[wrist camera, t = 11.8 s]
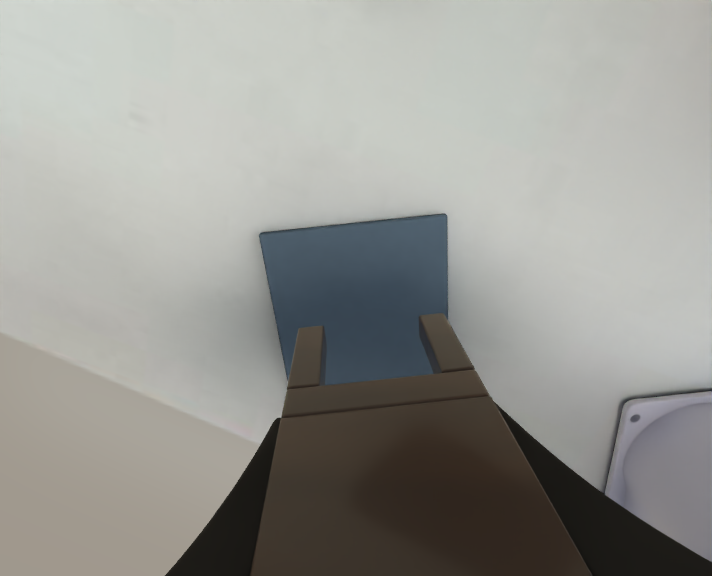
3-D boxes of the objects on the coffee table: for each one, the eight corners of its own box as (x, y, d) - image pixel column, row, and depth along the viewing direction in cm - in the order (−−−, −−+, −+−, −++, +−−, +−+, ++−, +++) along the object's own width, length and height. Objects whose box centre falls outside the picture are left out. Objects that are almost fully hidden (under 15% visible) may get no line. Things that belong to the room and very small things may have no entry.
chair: (445, 426, 14) (570, 777, 6) (317, 439, 14) (294, 807, 6) (443, 311, 12) (615, 612, 5) (297, 327, 12) (233, 653, 5)
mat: (446, 368, 20) (448, 373, 19) (290, 385, 20) (289, 390, 19) (445, 213, 17) (447, 215, 16) (260, 232, 17) (258, 235, 16)
